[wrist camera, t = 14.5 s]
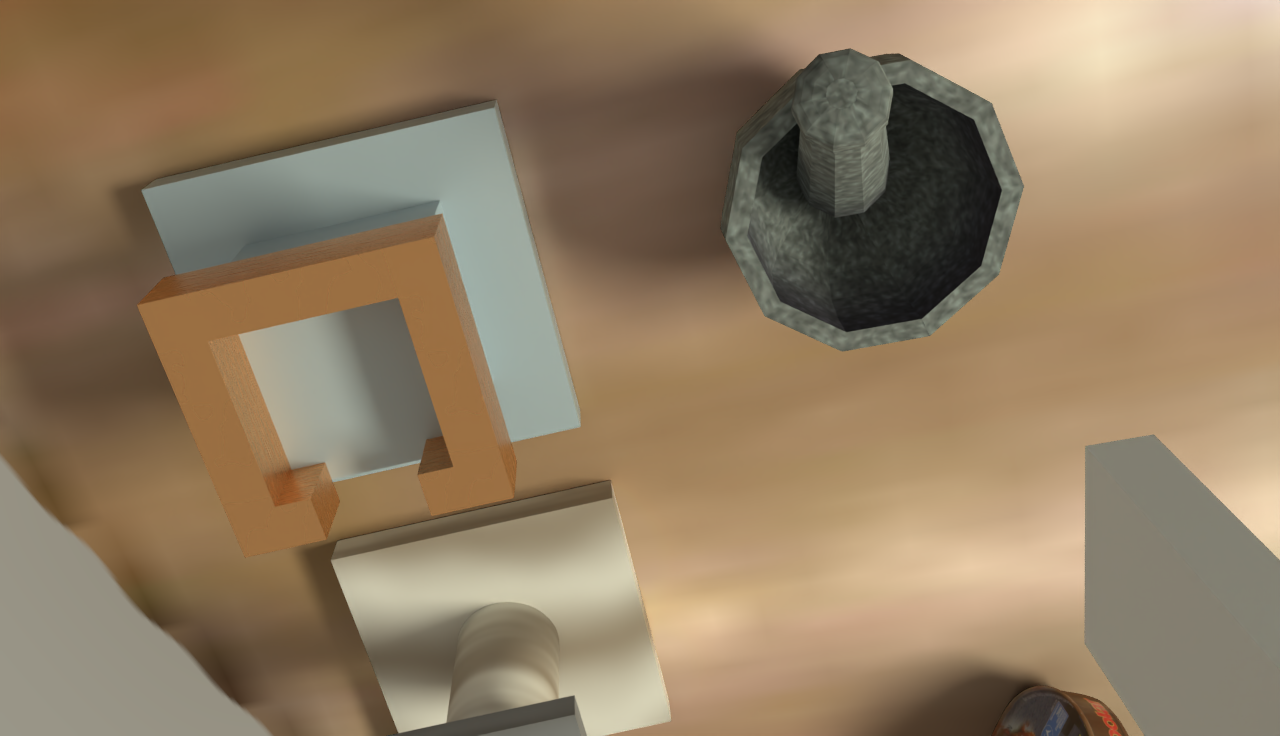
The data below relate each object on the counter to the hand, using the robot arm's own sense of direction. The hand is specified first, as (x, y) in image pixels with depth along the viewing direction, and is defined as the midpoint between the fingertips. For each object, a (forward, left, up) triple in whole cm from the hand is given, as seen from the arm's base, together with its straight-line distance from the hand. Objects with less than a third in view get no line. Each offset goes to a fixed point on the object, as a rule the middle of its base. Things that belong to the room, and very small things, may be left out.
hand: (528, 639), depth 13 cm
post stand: (+22, -8, -32) cm, 39 cm away
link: (+6, -9, -25) cm, 27 cm away
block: (+6, -9, -32) cm, 33 cm away
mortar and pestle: (+4, +9, -32) cm, 34 cm away
